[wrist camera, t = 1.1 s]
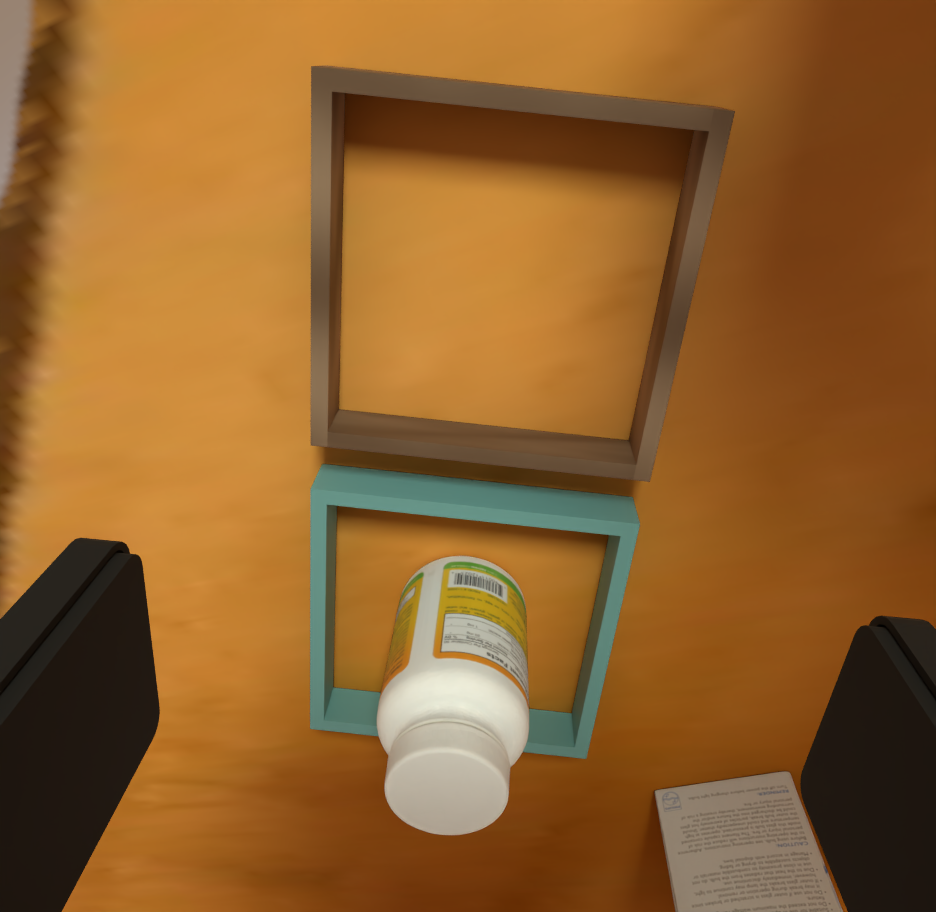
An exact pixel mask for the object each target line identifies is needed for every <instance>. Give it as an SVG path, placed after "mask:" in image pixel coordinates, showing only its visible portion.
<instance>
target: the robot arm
mask: <svg viewBox="0 0 936 912" xmlns="http://www.w3.org/2000/svg"><path fill="white" fill-rule="evenodd" d="M159 713H160V710H159V699H158V691H157V683H156V674H155V666H154V657H153V649H152V641H151V632H150V624H149V616H148V607H147V599H146V590H145V582H144V574H143V565H142V561H141V558H140V557H139V556H138V555H136V554H130V552H129V548H128V547H127V545H126V544H125V543H123V542H119V541H109V540H98V539H88V538H78V539H75V540H74V541H73V542H71V543H70V544H69V545H68V546H67V548H66V549H65V550H64V551H63V552H62V553H61V554H60V555H59V556H58V557H57V558H56V559H55V561H54V562H53V563H52V564H51V565H50V566H49V567H48V568H47V569H46V570H45V571H44V573H43V574H42V575H41V576H40V577H39V578H38V579H37V580H36V581H35V582H34V583H33V584H32V586H31V587H30V588H29V589H28V590H27V591H26V592H25V593H24V594H23V595H22V596H21V597H20V599H19V600H18V601H17V602H16V603H15V604H14V605H13V606H12V607H11V608H10V609H9V610H8V612H7V613H6V614H5V615H4V616H3V617H2V618H1V619H0V912H62V910H63V908H64V906H65V904H66V902H67V900H68V898H69V897H70V895H71V893H72V891H73V889H74V887H75V885H76V883H77V881H78V880H79V878H80V876H81V874H82V872H83V870H84V868H85V866H86V864H87V863H88V861H89V859H90V857H91V855H92V853H93V851H94V849H95V847H96V846H97V844H98V842H99V840H100V838H101V836H102V834H103V832H104V830H105V829H106V827H107V825H108V823H109V821H110V819H111V817H112V815H113V813H114V812H115V810H116V808H117V806H118V804H119V802H120V800H121V798H122V796H123V795H124V793H125V791H126V789H127V787H128V785H129V783H130V781H131V779H132V777H133V776H134V774H135V772H136V770H137V768H138V766H139V764H140V762H141V760H142V759H143V757H144V755H145V753H146V751H147V749H148V747H149V745H150V743H151V742H152V740H153V737H154V735H155V733H156V730H157V726H158V721H159ZM801 793H802V798H803V801H804V804H805V807H806V809H807V812H808V814H809V817H810V819H811V822H812V824H813V827H814V829H815V831H816V834H817V836H818V839H819V841H820V844H821V846H822V849H823V851H824V854H825V856H826V859H827V861H828V864H829V866H830V869H831V871H832V873H833V876H834V878H835V881H836V883H837V886H838V888H839V891H840V893H841V896H842V898H843V901H844V903H845V906H846V908H847V910H848V912H936V629H935V628H934V627H933V626H932V625H931V624H930V623H929V622H927V621H925V620H920V619H910V618H900V617H889V616H878V617H875V618H874V619H873V620H872V621H871V622H870V624H869V626H866V625H865V626H861V627H860V628H859V629H858V630H857V632H856V633H855V636H854V638H853V641H852V643H851V646H850V649H849V651H848V654H847V656H846V659H845V661H844V664H843V667H842V669H841V672H840V674H839V677H838V680H837V682H836V685H835V687H834V690H833V693H832V695H831V698H830V700H829V703H828V706H827V708H826V711H825V713H824V716H823V718H822V721H821V724H820V726H819V729H818V731H817V734H816V737H815V739H814V742H813V744H812V747H811V750H810V752H809V755H808V757H807V760H806V762H805V765H804V768H803V770H802V774H801Z"/></svg>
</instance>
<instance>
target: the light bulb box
mask: <svg viewBox="0 0 936 912" xmlns="http://www.w3.org/2000/svg"><path fill="white" fill-rule="evenodd" d="M654 793H655V798H656V804H657V809H658V814H659V820H660V826H661V832H662V838H663V844H664V849H665V854H666V860H667V865H668V871H669V877H670V882H671V888H672V894H673V900H674V906H675V912H843V911H842V908H841V905H840V903H839V900H838V897H837V895H836V892H835V889H834V887H833V884H832V882H831V879H830V877H829V874H828V871H827V869H826V866H825V864H824V861H823V859H822V856H821V853H820V851H819V848H818V846H817V843H816V841H815V838H814V835H813V833H812V830H811V827H810V825H809V822H808V819H807V817H806V814H805V812H804V809H803V806H802V804H801V801H800V799H799V796H798V793H797V791H796V788H795V785H794V782H793V779H792V776H791V774H790V773H789V772H787V771H783V772H775V773H769V774H762V775H755V776H748V777H741V778H734V779H728V780H721V781H714V782H708V783H701V784H694V785H687V786H681V787H674V788H667V789H660V790H656V791H655V792H654Z"/></svg>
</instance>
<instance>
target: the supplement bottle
mask: <svg viewBox="0 0 936 912" xmlns="http://www.w3.org/2000/svg"><path fill="white" fill-rule="evenodd" d="M377 730H378V735H379V738H380V741H381V744H382V746H383V748H384V750H385V751H386V753H387V754H388V762H387V771H386V778H385V796H386V799H387V802H388V804H389V806H390V808H391V809H392V811H393V812H394V813H395V814H396V815H397V816H398V817H399V818H400V819H401V820H403V821H404V822H405V823H407V824H409V825H411V826H412V827H415V828H417V829H419V830H422V831H425V832H428V833H433V834H440V835H462V834H468V833H472V832H475V831H478V830H480V829H483V828H485V827H487V826H488V825H490V824H491V823H493V822H494V821H495V820H496V819H497V818H498V817H499V816H500V815H501V814H502V812H503V811H504V809H505V807H506V805H507V802H508V796H509V779H510V767H511V766H512V765H514V763H515V762H516V761H517V760H518V758H519V757H520V755H521V754H522V752H523V750H524V748H525V746H526V743H527V739H528V735H529V695H528V660H527V620H526V606H525V600H524V597H523V594H522V592H521V589H520V588H519V586H518V584H517V583H516V581H515V580H514V579H513V578H512V577H511V576H510V575H509V574H508V573H507V572H506V571H504V570H503V569H502V568H500V567H498V566H497V565H495V564H493V563H491V562H489V561H486V560H483V559H480V558H475V557H470V556H451V557H445V558H441V559H438V560H435V561H433V562H431V563H429V564H427V565H425V566H424V567H422V568H421V569H419V570H418V571H417V572H416V573H415V574H414V575H413V576H412V577H411V578H410V580H409V581H408V582H407V584H406V586H405V587H404V589H403V592H402V595H401V598H400V602H399V606H398V611H397V616H396V622H395V627H394V632H393V637H392V642H391V646H390V651H389V656H388V661H387V665H386V671H385V675H384V680H383V685H382V690H381V695H380V699H379V705H378V712H377Z"/></svg>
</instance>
